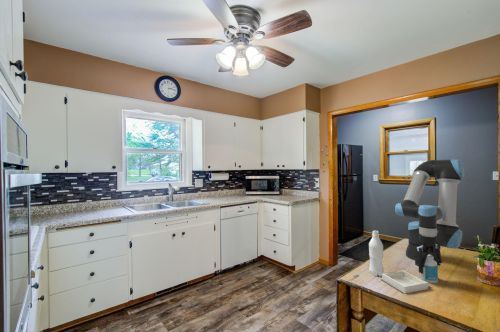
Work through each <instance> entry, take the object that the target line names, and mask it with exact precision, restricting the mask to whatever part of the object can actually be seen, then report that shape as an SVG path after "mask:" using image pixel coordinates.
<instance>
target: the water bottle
mask: <svg viewBox="0 0 500 332" xmlns="http://www.w3.org/2000/svg"><path fill="white" fill-rule="evenodd" d="M371 236H372V237H371V239H370V240H369V242H368V252H369V253H368V255H369V269H368V270H369V273H370V274H371V275H372V276H373V277H381V278H382V274H383V273H385V269H384V264H383V262H384V261H383V260H384V244H383V242H382V240H381V239H380V234H379V230H375V229H374V230H372V234H371Z"/></svg>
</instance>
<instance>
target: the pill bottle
mask: <svg viewBox="0 0 500 332" xmlns="http://www.w3.org/2000/svg"><path fill="white" fill-rule="evenodd" d="M433 259H434V256H432V255H429V254H428V255H427V258H426V261H425V264H424V267H425V280H424V281H426V282H428V284H436V283H438V282H439V281H438V280H439V279H438V278H439V272H438V273H437V262H436V261H435V260H433ZM421 265H422V264H421ZM422 280H423V279H422Z"/></svg>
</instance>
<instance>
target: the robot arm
mask: <svg viewBox="0 0 500 332" xmlns="http://www.w3.org/2000/svg"><path fill="white" fill-rule="evenodd" d="M411 175H412V179H411V181H410V183H409V186H408V189H407V191H406V193H405V195H404V198H403V201H402V203H401V202H400V203H399V202H398V203H396V204H395V206H394V207H395V208H394V210H395V211H394V212H395V214H396V215H397V216H400V217H405V218H413V219H418V220H417V221H416V220H415V221H410V222H409V223H408V224H407V225H408V227H407V228H408V229H407V233H408V235H407V236H408V244H407V247H406V250H405V256H406V257H407V258H409V259H410V260H413V261H414V265H415V266H417V267H418V274H419V275H418V276H419V277H418V278H420V279H423V280H425V267H424V264H425V261H426V258H427V255H428V254H429V255H432V256H434V259H433V260H435V261H436V262H437V273H438V274H439V272H438V271H439V267H440V266H441V264H442V254H441V247H444V248H446V249H448V248H449V249H458V248H460V246H461V244H462V240H463V230H461V228H460V226H459V225H458V224H457V199H458V198H457V197H458V196H457V195H458V185H459V183H461V181H462V179H464V178H465V176H466V175H465V168H464V164H463V162H462V161H461V160H460V159H430V160H426V161H423V162H422V163H420V164H418V166H416V168H415V169H414V170H413V172H412V174H411ZM431 178H432V179H433V178H434V179H435V178H436V181H437V182H438V186H439V187H438V204H437V205H429V204H422V205H421V204H420V205H419V202H420V199H421V196H422V194H423V192H424V189H425V187H426V184H427V182H428V181H429V180H430V179H431ZM421 264H422V265H421Z"/></svg>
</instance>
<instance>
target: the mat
mask: <svg viewBox="0 0 500 332" xmlns="http://www.w3.org/2000/svg"><path fill="white" fill-rule="evenodd" d="M380 281H382V282H383V283H384V284H387V286H389V287H391V288H392V289H394V290H396V291H397V292H399V293H401V294H402V295H403V294H404V295H405V294H406V293H403V292H402V291H400V290H398V289H397V288H395V287H393V286H392V285H390V284H389V283H387V282H385V281H384V280H382V279H380ZM430 289H433V286H430V285H428V289H425V290H430ZM425 290H424V291H425Z"/></svg>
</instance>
